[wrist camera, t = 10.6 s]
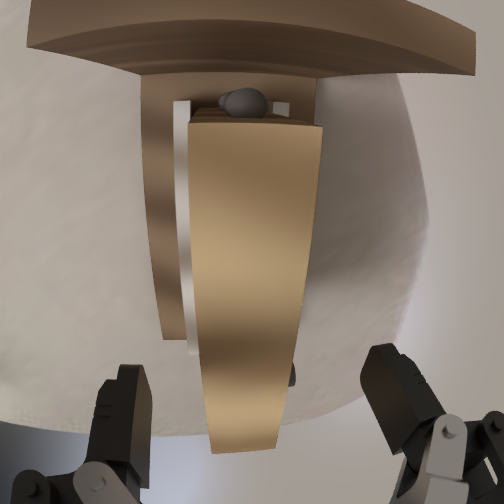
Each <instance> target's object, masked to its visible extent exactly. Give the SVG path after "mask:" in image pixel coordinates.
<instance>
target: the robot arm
mask: <svg viewBox="0 0 504 504" xmlns="http://www.w3.org/2000/svg"><path fill="white" fill-rule="evenodd" d="M360 382H361V387H362V389H363V391H364V393H365V395H366V397H367V399H368V402H369V404H370V406H371V408H372V410H373V412H374V414H375V416H376V419H377V420H378V423H379V425H380V427H381V430H382V432H383V434H384V436H385V438H386V440H387V443H388V445H389V447H390V449H391V452H392V454H393V455H395V454H398V453H402V452H404V454H405V456H406V457H405V458H404V460H403V463H402V466H401V470H400V473H399V476H398V480H397V483H396V486H395V489H394V492H393V496H392V498H391V501H390V503H389V504H504V414H503V413H501V412H499V411H491V412H489V413H488V414H487V415H486V416H485V417H484V418H483V419H482V420H479V421H468V422H463V420H462V419H460V418H459V417H457V416H455V415H452V414H447V413H446V412H445V411H444V409H443V408H442V406H441V404H440V402H439V401H438V399H437V398H436V396H435V394H434V393H433V391H432V389H431V388H430V386H429V385H428V383H426V380H425V378H424V377H423V375H421V372H420V371H419V369H418V367H417V366H416V364H415V363H414V362H413V361H412V360H411V359H410V358H408V357H407V356H406V355H405V354H401V355H400V353H399V352H398V350H397V349H396V347H395V346H394V345H393V344H392V343H387V344H381V345H376V346H372V347H371V348H370V350H369V353H368V356H367V358H366V361H365V363H364V366H363V368H362V371H361V374H360ZM151 421H152V395H151V390H150V387H149V384H148V381H147V377H146V374H145V371H144V367H143V365H129V364H121V365H120V366H119V370H118V375H117V380H111V379H107V380H106V381H105V382H104V384H103V385H102V387H101V388H100V389H99V391H98V395H97V400H96V407H95V410H94V418H93V420H92V426H91V431H90V437H89V443H88V449H87V456H86V459H85V461H84V463H83V464H82V465H81V466H80V467H79V468H78V469H77V470H76V471H74V472H72V473H69V474H63V475H56V476H47V477H45V476H44V475H42V474H41V473H40V472H38V471H35V470H24V471H22V472H20V473H19V474H18V475H17V476H16V477H15V479H14V481H13V487H12V494H11V502H10V504H142V503H141V501H140V488H147V489H149V469H150V467H149V466H150V440H151ZM486 457H488V459H489V461H490V463H491V465H492V467H493V470H494V472H495V474H496V476H497V479H498V482H497V485H496V484H495V483H494V481H493V478H492V476H491V474H490V472H489V470H488V468H487V466H486V464H485V461H484V459H485V458H486Z"/></svg>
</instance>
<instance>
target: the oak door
mask: <svg viewBox="0 0 504 504" xmlns="http://www.w3.org/2000/svg"><path fill="white" fill-rule="evenodd" d="M218 105H219V107H199V108H198V110H197V111H196V112H195V114H194V115H193V117H192V118H191V119H190V121H189V122H188V191H189V219H190V240H191V258H192V274H193V288H194V302H195V314H196V326H197V336H198V347H199V357H200V366H201V375H202V384H203V392H204V400H205V408H206V416H207V423H208V431H209V437H210V444H211V451H212V454H219V453H235V452H247V451H257V450H265V449H273V448H275V446H276V442H277V438H278V433H279V428H280V424H281V419H282V414H283V409H284V404H285V399H286V394H287V389H288V387H290V386H294V385H295V381H296V374H295V367H294V364H293V356H294V351H295V345H296V339H297V333H298V327H299V321H300V315H301V309H302V302H303V296H304V289H305V282H306V275H307V268H308V261H309V253H310V246H311V238H312V230H313V222H314V213H315V205H316V196H317V186H318V177H319V166H320V156H321V144H322V132H323V127H321V126H318V125H314V124H311V123H308V122H304V121H301V120H297V119H294V118H290V117H286V116H283V115H279V114H275V113H271V112H267V111H266V110H267V101H266V99H265V97H264V95H263V94H262V93H261V92H260V91H258V90H257V89H254V88H242V89H238V90H234V91H230V92H226V93H224V94H222V95H221V96H220V97H219V100H218Z"/></svg>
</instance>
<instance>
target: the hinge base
mask: <svg viewBox="0 0 504 504" xmlns="http://www.w3.org/2000/svg"><path fill="white" fill-rule="evenodd" d="M475 34H476V33H475V32H474V31H472V30H470V29H468V28H467V27H465V26H462V25H460V24H459V23H457V22H455V21H453V20H451V19H449V18H447V17H444V16H442V15H440V14H438V13H436V12H433V11H431V10H429V9H426V8H423V7H422V6H419V5H417V4H414V3H412V2H409V1H406V0H32V1H31V8H30V15H29V24H28V34H27V47H28V48H34V49H39V50H44V51H49V52H54V53H59V54H64V55H68V56H72V57H77V58H81V59H85V60H89V61H93V62H97V63H101V64H104V65H108V66H112V67H115V68H119V69H122V70H125V71H129V72H132V73H135V74H139V75H141V138H142V162H143V179H144V194H145V206H146V218H147V228H148V238H149V247H150V255H151V263H152V271H153V278H154V286H155V293H156V299H157V306H158V312H159V318H160V324H161V330H162V335H163V340H187V343H188V351H189V355H196V354H199V347H198V336H197V326H196V314H195V302H194V288H193V274H192V258H191V240H190V219H189V191H188V122H189V121H190V119H191V118H192V117H193V115H194V114H195V112H196V111H197V110H198V108H199V107H219V105H218V100H219V97H220V96H221V95H222V94H224V93H226V92H230V91H234V90H238V89H242V88H254V89H257V90H258V91H260V92H261V93H262V94H263V95H264V97H265V99H266V101H267V110H266V111H267V112H271V113H275V114H279V115H283V116H286V117H290V118H294V119H297V120H301V121H304V122H308V123H311V124H314V110H315V95H316V78H325V77H335V76H346V75H360V74H380V73H439V74H441V73H442V74H460V75H472V76H475V65H476V37H475V36H476V35H475Z"/></svg>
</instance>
